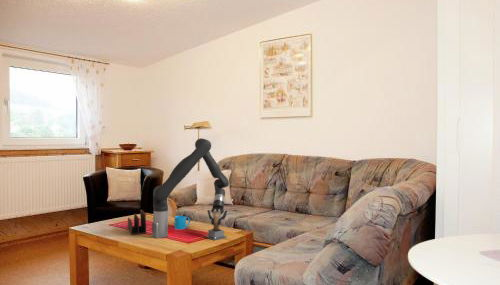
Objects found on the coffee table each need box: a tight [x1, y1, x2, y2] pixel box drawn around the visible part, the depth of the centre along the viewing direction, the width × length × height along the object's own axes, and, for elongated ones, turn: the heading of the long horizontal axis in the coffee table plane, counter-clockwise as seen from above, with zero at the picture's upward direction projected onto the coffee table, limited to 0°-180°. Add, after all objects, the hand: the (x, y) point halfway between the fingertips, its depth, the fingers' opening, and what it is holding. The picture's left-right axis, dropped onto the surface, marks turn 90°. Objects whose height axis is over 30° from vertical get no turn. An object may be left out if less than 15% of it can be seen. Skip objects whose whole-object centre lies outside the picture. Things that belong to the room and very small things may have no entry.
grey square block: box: [205, 228, 228, 241], centre depth 247 cm, size 10×10×5 cm
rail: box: [212, 212, 220, 232], centre depth 247 cm, size 4×4×14 cm
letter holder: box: [126, 209, 147, 236], centre depth 261 cm, size 10×20×14 cm, turn 25°
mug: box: [174, 215, 191, 230], centre depth 273 cm, size 12×8×8 cm
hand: (215, 224), depth 245 cm, fingers closed on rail, 3 cm apart
